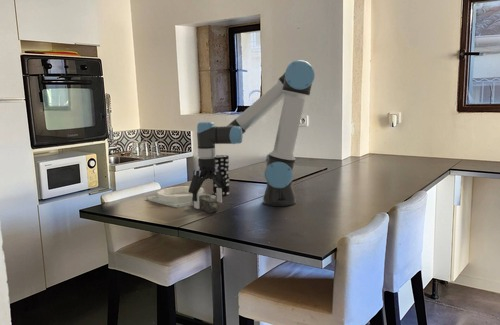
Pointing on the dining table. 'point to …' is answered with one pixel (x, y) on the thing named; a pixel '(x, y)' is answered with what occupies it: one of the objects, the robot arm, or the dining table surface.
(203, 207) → the stone
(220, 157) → the spotted tube
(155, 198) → the tray
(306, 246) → the dining table surface
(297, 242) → the dining table surface
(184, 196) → the bowl
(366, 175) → the dining table surface
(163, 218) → the dining table surface
